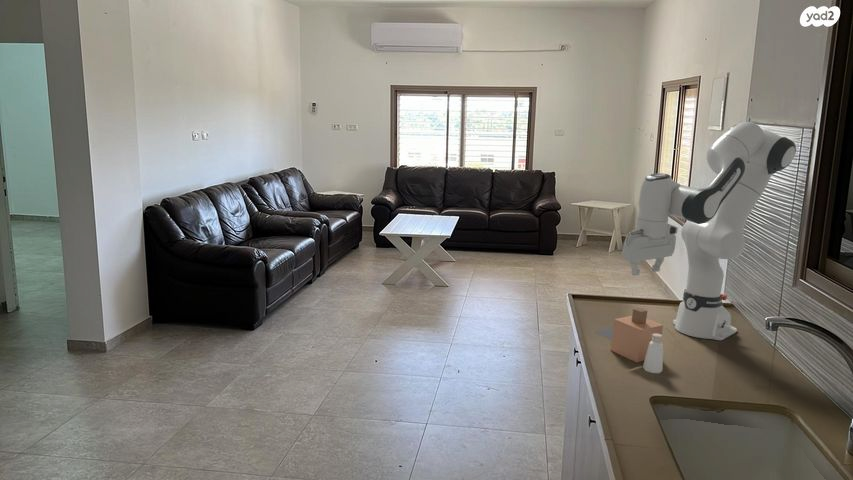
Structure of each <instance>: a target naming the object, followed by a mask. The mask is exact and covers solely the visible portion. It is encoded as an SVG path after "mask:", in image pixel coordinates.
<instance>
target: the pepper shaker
mask: <svg viewBox="0 0 853 480" xmlns="http://www.w3.org/2000/svg"><path fill="white" fill-rule="evenodd" d="M662 340H663V335H661V334H657V333H654V334H652V341H651V342H650V343H649V346H648V350H647V354H646V357H645V360H644V362H643V366H642V368H643V370H645V372H648V373H652V374H660V373H662V372H663V357H664V344H663V343H662Z"/></svg>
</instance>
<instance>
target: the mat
mask: <svg viewBox="0 0 853 480" xmlns="http://www.w3.org/2000/svg"><path fill="white" fill-rule="evenodd" d="M594 333H595V334H597V335H599V336H602V337H604V338H606V339H608V340H611V341H612V334H613V327H610V328H609V327H608V328H605V329H600V330H596V331H594Z"/></svg>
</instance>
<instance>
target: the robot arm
mask: <svg viewBox="0 0 853 480" xmlns="http://www.w3.org/2000/svg"><path fill="white" fill-rule="evenodd" d="M795 143H796V142H794V141H793V140H791V139H790V138H788V137H785V136H781V135H779V134H777V133H774V132H772V131H770V130H766V129H762V128H761V126H760V125H758V124H757V123H755V122H752V121H743V122H740V123H738V124H735V125H732V126H731V127H730V128H728V129H727V130H726V132H724V133H723V134H722V135H720V136H719V137H718V138H717V139H716V140H715V141H714V142H713V143H712V144H710V146H709V148H708V149H707V151H706V160H707V164H708V166H709V167H710V169H711V170H712V171H713V172H714V173H715V174H716V176H715V178H714V179H713V180H712V181H711V183H710V184H709V185H708V186H704V187H692V186H687V185H684V184H680V183H678V182H677V181H675V180H674V179H672V176H671V175H670V174H668V173H660V172H659V173H656V172H655V173H651V174H647V175H645V177H644V178H643V181H642V183H641V187H640V192H639V198H638V207H639V208H638V213H637V215H636V221H635V229H634V230H631V231H630V232H629V233H627V235H626V237H625V240H624V241H623V245H622V250H621V251H622V252H621V259H622V261H624V262H628V263H629V265H630V268H631V275H632V276H634V277H635V276H639V275H640V271H641V269H639V267H638V265H639V263H640V262H644V261H650V260H655V262H654V264H652V268H651V271H653V272H655V273H657V272H660V271H661V266H662V264H663V262H664V260H665V258H668V257H672V255H673V254H674V252H675V249H676V241H677V236H676V234H678V231H679V228H678V227H677V226H675V225H672V224H671V223H669V216H671V217H674V218H679V219H682V220H687V221H686V222H685V223H684V224H683V225H682V228H681V233H680V234H681V239H682V240H683V242H684V245H685V248H686V255H687V263H688V264H687V265H688V273H687V281H686V286H685V289H684V291H683V293H682V295H683V296H682V301H681V302H680V303H679V306H678V309H677V313H676V318H675V319H672V323H673V325H674V329H676V331H678V333H679V332H680V333H682V334H683V335H686V336H690V337H694V338H697V339H698V338H699V339H708V340H716V341H723V340H725V339H726V338H729V337H730V336H732V335H733V334H736V333H737V330H738V329H737V328H736V327H735V326H733V325H731V323H732V322H731V321H732V316H731V313H730V312H729V311H728V310H727V309H726V308H725V307H724V306H723V301H724V302H725V301H727V299H728V295H727V294H723V293H722V289H723V282H724V271H723V269H722V267H721V264H720V261H719V259H720V260H728V261H729V260H734V259H737V258H738V257H740V256H741V255H742V254H743V252H744V250H745V248H746V240H745V239H746V238H745V236H744V231H745V226H746V224H747V223H746V222H747V219H748V217H749V215H750V213H752V210H753V209H754V207H755V205H756V204H757V202H759V200H760V198H761V196H762V195H763V193H764V191H766V190H765V189H766V188H767V186H768V184H769V182H770V180H771V177H772V175H774V174H776V173H777V172H780V171H782V170H784V169H786V168H787V167H788V166H790V164H791V163H792V161H793V160H794V159H795V156H796V153H797V149H796V148H797V147H796V144H795ZM713 218H714V220H712V219H713Z"/></svg>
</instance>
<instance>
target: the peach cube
mask: <svg viewBox="0 0 853 480" xmlns="http://www.w3.org/2000/svg"><path fill="white" fill-rule="evenodd" d="M647 317H648V309H645V308H641V307H636V308H633V309H632V315H627V316H623V317H619V318H614V321H613V327H612V328H613V334H612V340H611V341H610V342H611V344H610V351H612V352H614V353H615V354H618V355H620V356H621V357H624V358H626V359H628V360H631V361H633V362H635V363H639V362H643V361H645V357H646V354H647V350H648V346H649V343H650V342H651V341H652V334H654V333H657V334H661V335H662V334H663V328H664V324H662V323H659V322H658V321H654V320H652V319H649V318H647ZM662 336H663V335H662Z"/></svg>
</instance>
